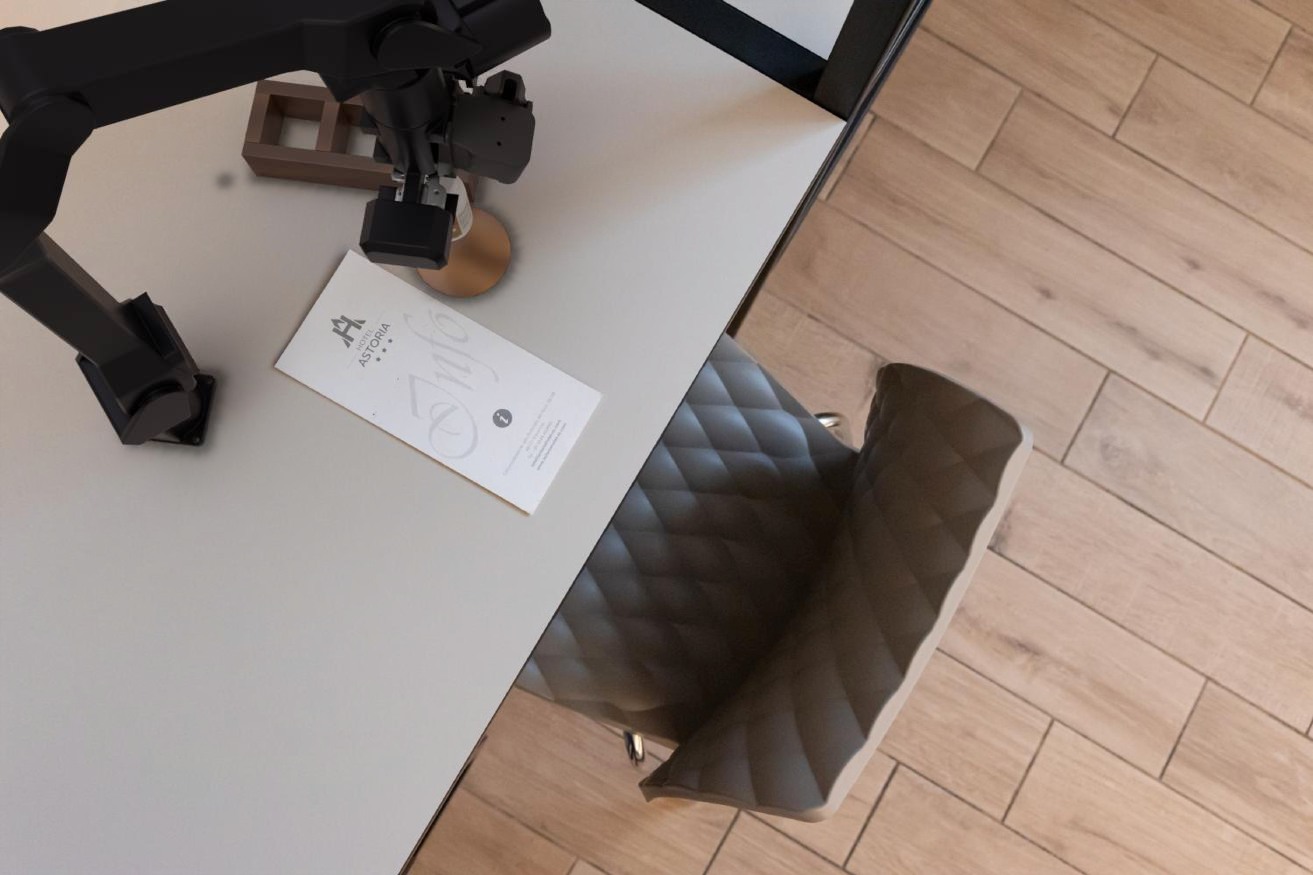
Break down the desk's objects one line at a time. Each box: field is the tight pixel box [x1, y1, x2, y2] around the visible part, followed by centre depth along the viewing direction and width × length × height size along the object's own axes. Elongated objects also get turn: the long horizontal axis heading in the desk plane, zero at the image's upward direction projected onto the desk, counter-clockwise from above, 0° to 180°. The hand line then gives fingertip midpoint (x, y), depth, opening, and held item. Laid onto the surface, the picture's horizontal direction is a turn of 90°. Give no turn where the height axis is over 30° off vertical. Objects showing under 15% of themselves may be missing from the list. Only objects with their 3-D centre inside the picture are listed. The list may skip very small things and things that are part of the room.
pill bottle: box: [424, 175, 473, 241], centre depth 83 cm, size 4×4×8 cm
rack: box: [240, 79, 479, 203], centre depth 92 cm, size 8×21×4 cm, turn 84°
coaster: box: [416, 206, 512, 298], centre depth 92 cm, size 9×9×1 cm
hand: (439, 197), depth 82 cm, fingers closed on pill bottle, 4 cm apart
